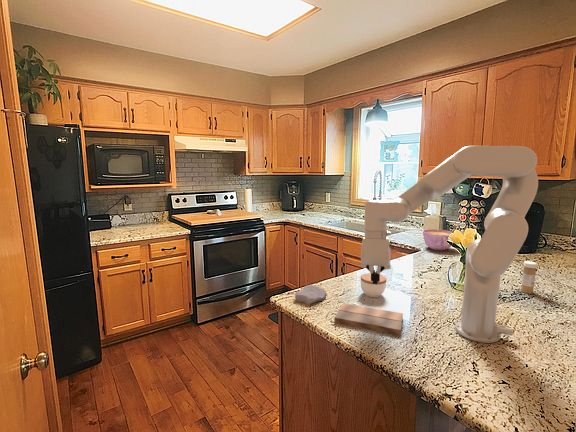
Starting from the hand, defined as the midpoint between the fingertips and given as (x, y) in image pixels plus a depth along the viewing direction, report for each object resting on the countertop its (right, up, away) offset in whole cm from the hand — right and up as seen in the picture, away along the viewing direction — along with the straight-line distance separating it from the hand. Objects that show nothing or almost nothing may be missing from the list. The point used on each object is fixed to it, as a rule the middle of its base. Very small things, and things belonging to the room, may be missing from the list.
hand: (375, 283), depth 114 cm
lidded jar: (+4, -9, +19) cm, 22 cm away
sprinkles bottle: (+73, -9, +22) cm, 76 cm away
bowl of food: (+68, +2, +94) cm, 116 cm away
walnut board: (-5, -13, -7) cm, 15 cm away
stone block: (-22, -10, +15) cm, 29 cm away
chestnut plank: (-2, -12, -1) cm, 12 cm away
